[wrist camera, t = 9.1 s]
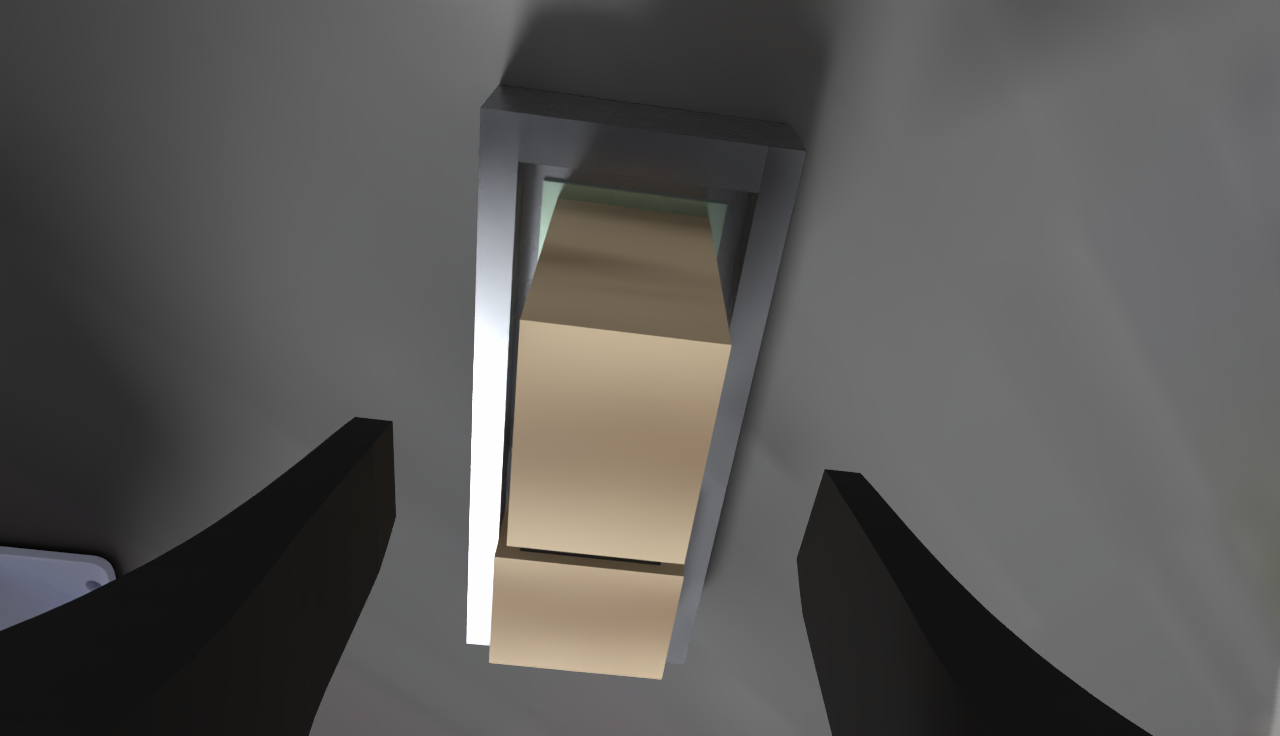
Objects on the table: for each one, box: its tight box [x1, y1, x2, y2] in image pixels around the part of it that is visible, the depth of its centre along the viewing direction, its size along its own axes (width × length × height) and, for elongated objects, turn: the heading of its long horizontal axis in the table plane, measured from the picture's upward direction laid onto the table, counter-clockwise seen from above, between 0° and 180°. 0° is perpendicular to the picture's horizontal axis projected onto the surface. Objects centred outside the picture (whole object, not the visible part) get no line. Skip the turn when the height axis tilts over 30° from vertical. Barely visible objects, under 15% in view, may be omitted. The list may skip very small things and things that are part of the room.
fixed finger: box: [489, 493, 684, 679], centre depth 22 cm, size 4×5×3 cm
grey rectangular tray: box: [467, 85, 807, 665], centre depth 21 cm, size 16×7×2 cm, turn 173°
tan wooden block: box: [507, 198, 732, 564], centre depth 17 cm, size 5×4×6 cm, turn 173°
